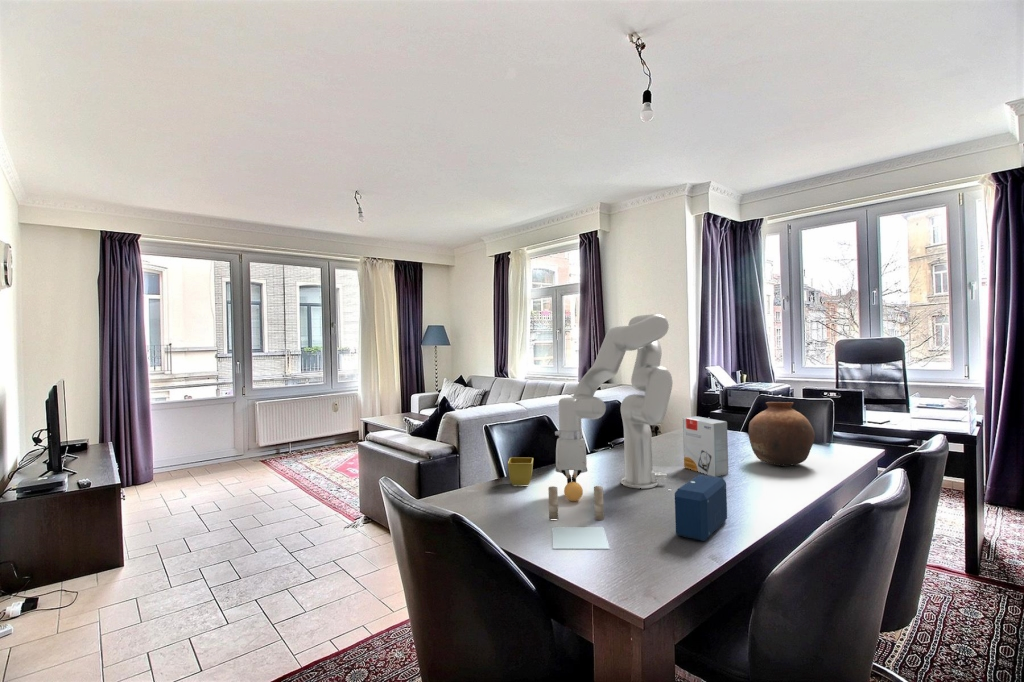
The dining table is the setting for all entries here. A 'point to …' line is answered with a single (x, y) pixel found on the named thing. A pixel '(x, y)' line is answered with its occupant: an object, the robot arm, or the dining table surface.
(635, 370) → the robot arm
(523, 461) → the flower pot
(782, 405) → the pottery
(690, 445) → the hard drive box
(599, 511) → the post
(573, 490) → the ball
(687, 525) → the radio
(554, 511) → the post
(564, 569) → the dining table surface
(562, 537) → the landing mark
